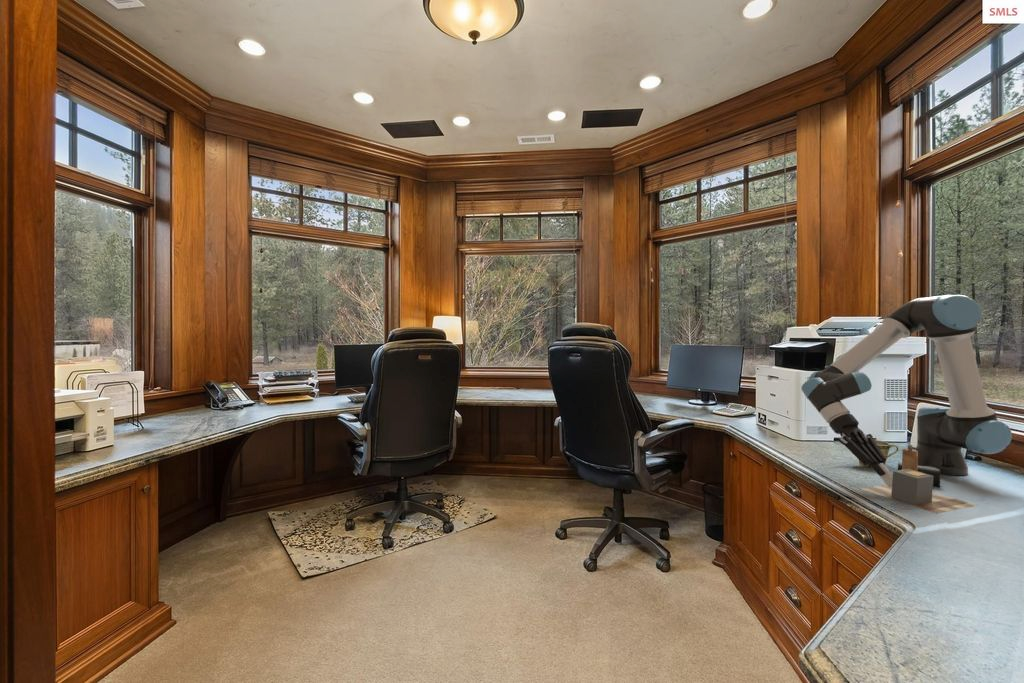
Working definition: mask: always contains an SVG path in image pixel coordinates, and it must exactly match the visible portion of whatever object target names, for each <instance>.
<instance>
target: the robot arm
mask: <svg viewBox="0 0 1024 683" xmlns="http://www.w3.org/2000/svg"><path fill="white" fill-rule="evenodd" d="M982 314H983V313H982V309H981V307H980V305H979V304H978V302H977V301H976V300H974V299H973V298H972V297H971V298H970V297H968V296H967V295H962V294H945V295H936V296H935V295H934V296H929V297H919V298H918V297H917V298H915V299H912V300H910V301H908V302H906V303H904V304H902V305H901V306H899V307H898V308H897V309H895V310H894V311H892V312H891V313H890V314H888V315H887V316H886V317H884V318H883V319H882V321H881V324H880V325H879V326H878V327H877V328H875V329H874V330H873V331H871V332H870V333H869V334H868V335H867V336H865V337H864V338H863V339H862V340H860V341H858V342H857V343H856V344H855V345H854V346H853V347H852V348H850V349H848V350H847V351H846V352H845V353H844V354H842V355H841V356H840V357H839V358H837V359H836V360H835V361H834V362H832V363H831V364H829V365H828V366H827V367H826V368H825V369H823V370H817V371H814V372H812V373H811V374H810V376H809V379H808V380H807V381H805V382H804V383H802V386H800V388H801V389H800V390H801V391H802V393H803V395H804V396H805V397H806V399H807V400H808V401H809V402H810V403H811V405H813V407H814V408H815V409H816V411H817V412H818V413H819V414H820V415H821V417H822V418H823V419H824V421H826V423H827V424H828V426H829V427H830V428H831V430H832V431H833V432H834V433H835V434H836V435H840V438H839V439H838V442H839V443H841V444H842V445H843V446H845V447H846V448H847V449H848V451H850V453H852V455H854V457H855V458H857V459H858V461H859V460H860V461H861V462H862V463H863V464H864V465H865V466H864V467H866V468H868V469H871V468H872V469H873V471H874V472H875V473H876V474H877V475H878V476H879V477H880V478H881V480H882V481H883V483H884V484H885V485H887V486H888V487H892V480H893V472H891V470H890V469H889V467H887V465H886V463H885V464H884V462H887V459H886V458H885V457H884V455H883V454H882V452H881V450H880V449H879V447H878V446H877V444H876V443H875V441H874V440H875V439H874V438H873V435H872V434H871V433H868V434H866V433H864V431H863V430H862V429H861V428H859V426H858V425H860V423H859V421H858V420H857V418H856V417H855V416H854V415H853V414H852V413H851V411H850V410H849V409H848V408H847V406H846V405H845V404H843V402H842V401H843V400H846V399H851V398H853V397H856V396H859V395H862V394H865V393H867V392H869V391H871V389H872V386H873V385H872V381H871V379H870V378H869V376H868V375H866V373H864V372H863V371H860V370H862V369H864V367H866V366H867V365H868V364H870V363H871V362H872V361H874V360H875V359H876V358H878V357H879V356H880V355H881V354H883V353H884V352H885V351H886V350H888V349H890V348H891V347H892V346H893V345H894V344H895V343H897V342H898V341H899V340H901V339H906V338H907V339H908V337H911V335H913V334H914V333H917V332H919V331H923V330H924V331H925V334H926V337H927V339H929V340H931V341H933V343H934V344H935V349H936V354H937V358H938V361H939V365H940V369H941V373H942V377H943V381H944V386H945V390H946V394H947V397H948V401H949V407H935V406H934V407H930V406H929V407H928V406H927V407H926V406H924V407H923V406H922V407H920V408H919V409H918V411H917V415H916V418H917V422H916V423H917V424H916V428H917V430H916V432H917V435H916V437H917V438H916V447H915V449H914V450H916V451H918V466H930V467H936V468H937V469H940V474H941V473H943V475H949V474H950V475H951V476H966V475H968V474H969V466H968V465H967V464H968V463H967V462H966V460H965V457H964V455H963V452H962V449H965V450H968V451H971V452H973V453H978V454H983V455H992V454H993V455H995V454H997V453H1000V452H1003V451H1004V450H1005V449H1006V448H1007V446H1009V445H1010V443H1011V441H1012V437H1013V436H1012V435H1013V434H1012V430H1011V428H1010V427H1009V425H1008V424H1007V423H1005V422H1003V421H1002V420H1001V421H1000V420H998V417H997V413H996V410H994V409H992V408H991V407H989V406H988V405H987V401H986V396H985V393H984V389H983V384H982V380H981V376H980V372H979V368H978V365H977V364H978V363H977V361H976V356H975V355H976V354H975V352H974V347H973V344H972V340H971V337H972V336H973V335H974V333H976V328H975V327H976V326H977V325H978V324H979V323H980V320H981V319H982ZM867 465H869V466H867Z"/></svg>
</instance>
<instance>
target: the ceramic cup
mask: <svg viewBox="0 0 1024 683" xmlns="http://www.w3.org/2000/svg"><path fill="white" fill-rule="evenodd" d="M874 441H875V443H876V444H877V446H878V447H879V449H880V450H881V452H882V454H883V455H884V457H885V458H886V460H887V459H888V458H890V457H891V456H892V455H894V454H896V453H897V452H899V447H898V446H897V445H895V444H890V443H889V442H887V441H884V440H879V439H874ZM893 447H895V448H896V450H895V451H894V452H891V453H890V454H889V452H890V449H891V448H893ZM886 462H887V461H886ZM886 462H884V464H885V465H886ZM858 464H859V467H860V466H861V467H867V466H869V465H867V466H865V465H864V464H863V463H862V462H861V461H860V460H859V459H858Z"/></svg>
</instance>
